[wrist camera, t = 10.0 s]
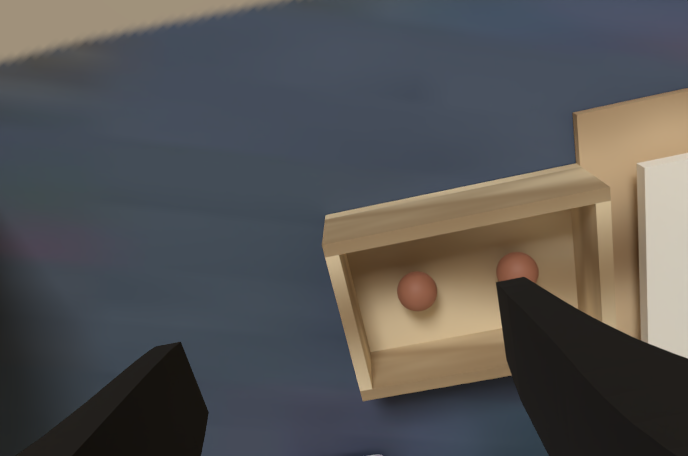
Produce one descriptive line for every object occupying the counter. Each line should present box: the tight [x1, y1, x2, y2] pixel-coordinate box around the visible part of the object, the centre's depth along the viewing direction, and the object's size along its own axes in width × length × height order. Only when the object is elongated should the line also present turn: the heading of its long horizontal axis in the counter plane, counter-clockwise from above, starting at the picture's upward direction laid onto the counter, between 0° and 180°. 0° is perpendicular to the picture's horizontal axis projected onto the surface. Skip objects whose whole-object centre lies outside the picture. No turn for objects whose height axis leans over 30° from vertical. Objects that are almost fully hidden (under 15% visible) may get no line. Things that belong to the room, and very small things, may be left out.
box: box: [322, 163, 617, 401], centre depth 22 cm, size 7×10×3 cm
